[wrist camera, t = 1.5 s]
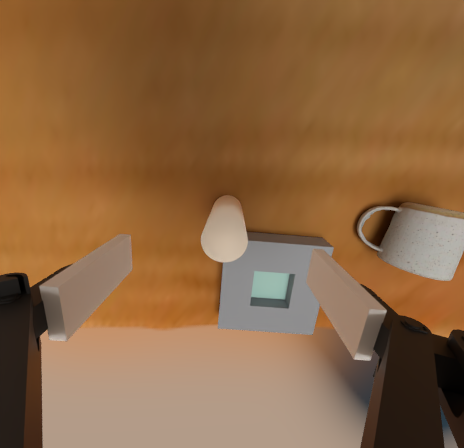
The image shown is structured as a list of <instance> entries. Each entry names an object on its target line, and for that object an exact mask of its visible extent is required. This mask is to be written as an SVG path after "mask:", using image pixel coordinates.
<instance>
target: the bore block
mask: <svg viewBox="0 0 464 448" xmlns="http://www.w3.org/2000/svg"><path fill="white" fill-rule="evenodd" d="M247 237H248V244H247V248H246V250H245V252H244V253H243V255H242V256H241V257H239V258H238V259H236V260H234V261H231V262H223V270H222V283H221V295H220V308H219V320H218V328H221V329H236V330H249V331H265V332H278V333H292V334H307V335H313V331H314V327H315V323H316V319H317V315H318V310H319V306H320V304H319V302H318V301H317V299H316V297H315V296H314V294H313V293H312V291H311V289H310V288H309V286H308V285H307V283H306V280H307V275H308V270H309V265H310V260H311V256H312V251H313V249H322V250H324V251H325V252H326V253H327V254H328V255H329V256H330V257H331V256H332V252H333V248H334V247H333V246H332V245H330V244H329V243H328V242H327V241H326V240H325V239H323V238H319V237H307V236H294V235H282V234H269V233H257V232H247Z"/></svg>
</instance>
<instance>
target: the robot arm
mask: <svg viewBox="0 0 464 448" xmlns="http://www.w3.org/2000/svg"><path fill="white" fill-rule="evenodd" d="M131 271H132V251H131V235H128V234H119V235H117V236H116V237H114V238H113V239H111V240H110V241H108V242H106V243H105V244H103V245H102V246H100V247H99V248H97V249H96V250H94V251H93V252H91V253H89V254H88V255H86V256H85V257H83V258H82V259H80V260H79V261H77V262H76V263H74V264H71V265H68V266H65V267H63V268H61V269H59V270H58V271H56V272H54V274H51V275H50V276H48V277H47V278H45V279H43V280H42V281H40V282H38V283H37V284H35V285H34V286H32V287H30V286H29V281H28V276H27V275H26V274H24V273H9V274H4V275H0V448H42V379H41V378H42V375H41V340H40V335H41V334H42V333H44V332H45V331H46V330H48V335H49V340H56V341H57V340H58V341H67V340H68V339H69V338H70V337H71V336H72V335H73V334H74V333H75V332H76V331H77V330H78V328H79V327H80V326H81V325H82V324H83V323H84V322H85V321H86V320H87V319H88V318H89V316H90V315H91V314H92V313H93V312H94V311H95V310H96V309H97V308H98V307H99V306H100V304H101V303H102V302H103V301H104V300H105V299H106V298H107V297H108V296H109V295H110V294H111V292H112V291H113V290H114V289H115V288H116V287H117V286H118V285H119V284H120V283H121V281H122V280H123V279H124V278H125V277H126V276H127V275H128V274H129V273H130V272H131ZM306 283H307V285H308V286H309V288H310V289H311V291H312V293H313V294H314V296H315V297H316V299H317V301H318V302H319V304H320V305H321V307H322V309H323V310H324V312H325V313H326V315H327V317H328V318H329V320H330V321H331V323H332V325H333V326H334V328H335V330H336V331H337V332H338V334H339V336H340V338H341V339H342V341H343V342H344V344H345V345H346V347H347V349H348V350H349V352H350V353H351V355H352V357H353V358H354V359H358V360H370V359H371V356H372V353H373V351H374V350H375V352H376V353H377V354H378V356H379V360H378V363H377V366H376V369H375V372H374V375H373V377H375V378H374V383H373V388H372V393H371V398H370V402H369V407H368V412H367V418H366V422H365V427H364V432H363V437H362V442H361V448H444V439H443V430H442V421H441V412H440V406H441V408H442V410H443V412H444V415H445V417H446V420H447V422H448V424H449V427H450V429H451V431H452V434H453V436H454V438H455V441H456V443H457V446H458V448H464V331H462V330H453V331H452V332H451V333H450V336H449V338H446V337H442V336H438V335H435V334H432V333H431V331H430V330H429V329H428V328H427V327H426V326H425V325H423V324H422V323H420V322H419V321H416V320H414V319H412V318H409V317H406V316H400V315H398V314H397V313H396V312H395V311H394V310H393V309H392V308H390V307H389V306H388V305H387V304H386V303H385V302H384V301H382V299H381V298H380V297H377V295H376V294H375V293H374V292H373V291H372V290H371V289H369V288H367V287H366V286H364V285H362V284H359V283H358V282H357V281H356V280H355V279H354V278H353V277H351V276H350V275H349V274H348V273H347V272H346V271H345V270H344V269H343V268H342V267H341V266H340V265H339V264H338V263H337V262H336V261H335V260H334V259H333V258H332V257H330V256H329V255H328V254H327V253H326V252H325V251H324V250H322V249H313V251H312V256H311V260H310V265H309V270H308V275H307V280H306Z"/></svg>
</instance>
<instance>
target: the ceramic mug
mask: <svg viewBox="0 0 464 448" xmlns="http://www.w3.org/2000/svg"><path fill="white" fill-rule="evenodd" d="M379 210H393V211H395V213H394V216H393V218H392V220H391V223H390V226H389V228H388V230H387V232H386V234H385V236H384V238H383V240H382V243H381V245H380V246H376V245H374V244H372V243H370V242H368V241H367V240H366V239H365V237H364V235H363V233H362V231H361V229H362V226H363V224H364V222H365V221H366V220H367V219H368V218H370V215H371V214H373V213H374V212H375V211H379ZM357 232H358V235H359V237H360V238H361V239H362V241H363V242H364V243H365V244H366V245H368V246H369V247H371V248H373V249H375V250H377V251H378V252H377V256H378V257H379V258H381V259H382V260H383V261H385V262H387V263H389V264H390V265H393V266H395V267H397V268H400V269H403V270H405V271H408V272H410V273H414V274H417V275H420V276H423V277H426V278H431V279H435V280H444V281H448V280H451V279H452V278H453V275H454V273H455V270H456V268H457V265H458V263H459V261H460V258H461V256H462V253H463V251H464V213H463V212H458V211H453V210H448V209H442V208H437V207H432V206H427V205H422V204H417V203H411V202H405V203H403V204H401V205H400V206H399V207H398V208H395V207H392V206H377V207H373V208H370V209H369V210H367V211H366V212H365V213H363V214H362V216H361V217H360V219H359V221H358V224H357Z"/></svg>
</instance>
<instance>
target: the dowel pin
mask: <svg viewBox="0 0 464 448" xmlns="http://www.w3.org/2000/svg"><path fill="white" fill-rule="evenodd" d="M247 244H248V237H247V232H246V226H245V221H244V216H243V211H242V206H241V203H240V202H239V200H238V199H237V198H235V197H233V196H231V195H224V196H221V197H219V198H218V199H217V200H216V201H215V203H214V205H213V208H212V210H211V213H210V215H209V218H208V220H207V223H206V225H205V227H204V230H203V232H202V235H201V245H202V248H203V250H204V252H205V253H206V254H207V256H209V257H210V258H211V259H213V260H215V261H218V262H231V261H234V260H236V259H238V258H239V257H241V256H242V255H243V253H244V252H245V250H246V248H247Z"/></svg>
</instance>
